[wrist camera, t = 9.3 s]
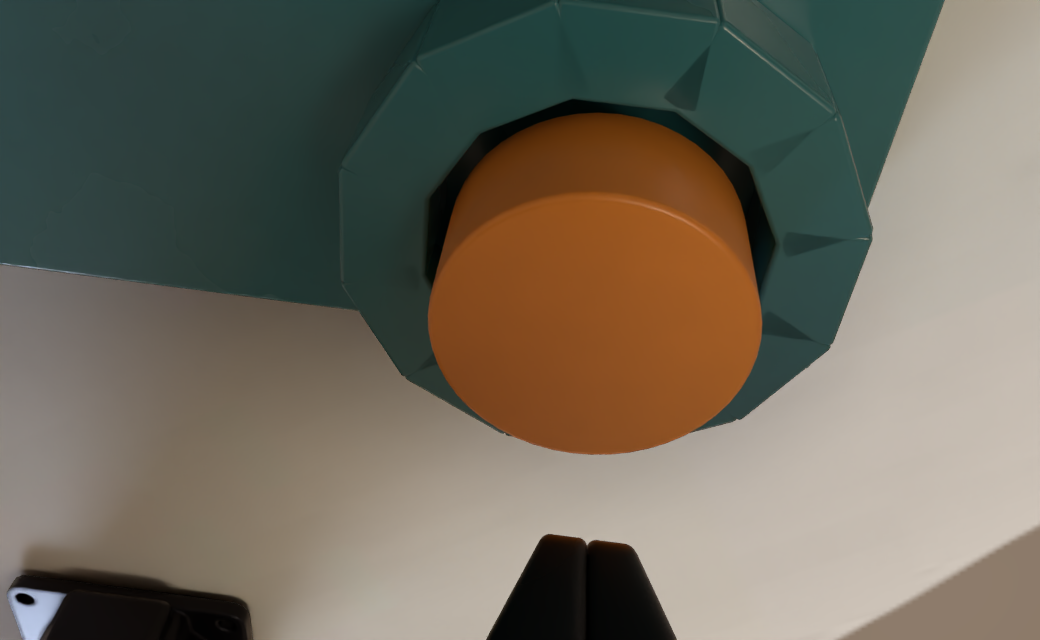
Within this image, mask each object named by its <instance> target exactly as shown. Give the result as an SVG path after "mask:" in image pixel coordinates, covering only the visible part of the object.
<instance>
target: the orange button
mask: <svg viewBox="0 0 1040 640" xmlns="http://www.w3.org/2000/svg"><path fill="white" fill-rule="evenodd" d="M428 331H429V336H430V341H431V347H432V350H433V352H434V355H435V358H436V360H437V363H438V366H439V368H440V369H441V371H442V373H443V375H444V377H445V379H446V380H447V382H448V383H449V385H450V386H451V387H452V389H453V390H454V391H455V393H456V394H457V395H458V396H459V397H460V398H461V400H462V401H463V402H464V403H465V404H466V405H467V406H468V407H469V408H470V409H472V410H473V411H474V412H475V413H476V414H478V415H479V416H480V417H481V418H483V419H484V420H485V421H487V422H489V423H490V424H492V425H493V426H495V427H496V428H498V429H500V430H502V431H504V432H506V433H508V434H509V435H511V436H513V437H515V438H518V439H521V440H523V441H526V442H528V443H531V444H534V445H537V446H541V447H545V448H548V449H552V450H557V451H563V452H569V453H578V454H590V455H593V454H618V453H628V452H634V451H639V450H644V449H649V448H652V447H655V446H658V445H662V444H665V443H668V442H670V441H673V440H675V439H677V438H680V437H682V436H685V435H686V434H688V433H690V432H692V431H694V430H695V429H697V428H699V427H701V426H702V425H703V424H705V423H706V422H708V421H709V420H710V419H712V418H713V417H715V416H716V415H717V414H718V413H719V412H720V411H721V410H722V409H723V408H725V407H726V406H727V405H728V404H729V403H730V402H731V400H732V399H733V398H734V397H735V395H736V394H737V393H738V392H739V391H740V389H741V388H742V386H743V384H744V383H745V381H746V379H747V378H748V376H749V374H750V372H751V370H752V368H753V365H754V363H755V360H756V358H757V355H758V351H759V347H760V342H761V335H762V314H761V305H760V299H759V293H758V288H757V282H756V277H755V271H754V266H753V260H752V254H751V249H750V243H749V238H748V232H747V227H746V221H745V216H744V213H743V209H742V206H741V202H740V200H739V198H738V195H737V193H736V191H735V189H734V187H733V185H732V183H731V182H730V180H729V179H728V177H727V176H726V174H725V173H724V171H723V170H722V169H721V168H720V167H719V165H718V164H717V163H716V162H715V161H714V160H713V159H712V158H711V156H709V155H708V154H707V153H706V152H705V151H703V150H702V149H701V148H700V147H699V146H698V145H696V144H695V143H693V142H692V141H690V140H689V139H687V138H685V137H684V136H682V135H681V134H679V133H677V132H675V131H673V130H671V129H669V128H667V127H664V126H662V125H660V124H657V123H654V122H651V121H648V120H645V119H642V118H638V117H633V116H627V115H622V114H613V113H580V114H573V115H567V116H561V117H556V118H553V119H550V120H546V121H543V122H540V123H537V124H535V125H532V126H530V127H528V128H526V129H523V130H521V131H519V132H517V133H515V134H514V135H512V136H511V137H509V138H507V139H506V140H504V141H502V142H501V143H500V144H498V145H497V146H496V147H495V148H494V149H492V150H491V151H490V152H489V153H487V154H486V155H485V156H484V158H483V159H482V160H481V161H480V162H479V163H478V164H477V165H476V166H475V167H474V169H473V170H472V171H471V173H470V174H469V176H468V177H467V179H466V180H465V182H464V184H463V186H462V188H461V190H460V192H459V194H458V196H457V198H456V201H455V205H454V208H453V211H452V215H451V218H450V222H449V226H448V230H447V234H446V238H445V241H444V245H443V249H442V253H441V257H440V261H439V264H438V268H437V272H436V276H435V280H434V283H433V287H432V291H431V295H430V301H429V308H428Z"/></svg>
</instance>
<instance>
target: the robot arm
mask: <svg viewBox="0 0 1040 640" xmlns="http://www.w3.org/2000/svg"><path fill="white" fill-rule="evenodd" d="M7 598H8V601H9V603H10V606H11V609H12V612H13V614H14V617H15V620H16V623H17V625H18V628H19V631H20V633H21V636H22V639H23V640H253V637H252V629H251V620H250V614H249V612H248V610H246V609H245V608H244V607H243V606H241V605H239V604H237V603H233V602H227V601H220V600H212V599H204V598H197V597H189V596H181V595H174V594H166V593H159V592H151V591H143V590H136V589H128V588H120V587H113V586H105V585H97V584H90V583H82V582H75V581H67V580H59V579H52V578H44V577H36V576H29V575H22V576H19V577H16V579H15V580H14V581H13V583H12V585H11V586H10V588H9V590H8V591H7ZM486 640H677V639H676V637H675V634H674V632H673V630H672V628H671V626H670V624H669V622H668V619H667V617H666V615H665V613H664V611H663V609H662V607H661V604H660V602H659V600H658V598H657V596H656V594H655V592H654V589H653V587H652V585H651V583H650V581H649V579H648V577H647V574H646V572H645V570H644V568H643V566H642V564H641V562H640V560H639V557H638V555H637V553H636V552H635V550H634V549H633V548H632V547H631V546H629V545H627V544H622V543H614V542H607V541H599V540H594V541H591V542H590V543H589V544H588V545H586V542H585V541H584V540H583V539H581V538H576V537H568V536H561V535H553V534H547V535H545V536H543V537H542V538H541V539H540V541H539V543H538V544H537V546H536V548H535V550H534V552H533V554H532V556H531V557H530V559H529V561H528V563H527V565H526V567H525V569H524V570H523V572H522V574H521V576H520V578H519V580H518V581H517V583H516V585H515V587H514V589H513V591H512V593H511V594H510V596H509V598H508V600H507V602H506V604H505V605H504V607H503V609H502V611H501V613H500V615H499V617H498V618H497V620H496V622H495V624H494V626H493V628H492V630H491V631H490V633H489V635H488V637H487V639H486Z"/></svg>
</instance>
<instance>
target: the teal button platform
mask: <svg viewBox="0 0 1040 640" xmlns="http://www.w3.org/2000/svg"><path fill="white" fill-rule="evenodd" d="M944 1H945V0H0V265H7V266H15V267H23V268H30V269H38V270H46V271H54V272H61V273H69V274H77V275H85V276H92V277H100V278H108V279H116V280H123V281H131V282H139V283H147V284H154V285H162V286H170V287H177V288H185V289H193V290H201V291H208V292H216V293H224V294H232V295H239V296H247V297H255V298H263V299H270V300H278V301H286V302H294V303H301V304H309V305H317V306H325V307H332V308H340V309H348V310H356V311H359V312H360V314H361V315H362V317H363V318H364V320H365V321H366V323H367V324H368V326H369V327H370V329H371V330H372V332H373V333H374V335H375V336H376V338H377V339H378V341H379V342H380V344H381V345H382V346H383V348H384V349H385V351H386V352H387V354H388V355H389V357H390V358H391V360H392V361H393V363H394V364H395V366H396V367H397V369H398V370H399V372H400V373H401V375H402V376H405V377H406V379H407V380H409V381H410V382H412V383H414V384H416V385H417V386H419V387H421V388H423V389H424V390H426V391H428V392H430V393H431V394H433V395H435V396H437V397H438V398H440V399H442V400H444V401H445V402H447V403H449V404H451V405H452V406H454V407H456V408H458V409H459V410H461V411H463V412H465V413H466V414H468V415H470V416H472V417H473V418H475V419H477V420H479V421H480V422H482V423H484V424H486V425H487V426H489V427H491V428H493V429H494V430H496V431H498V432H500V433H503V434H504V433H505V434H506V435H507V436H511V435H509V434H508V433H506V432H504V431H502V430H500V429H498V428H496V427H495V426H493V425H492V424H490V423H489V422H487V421H485V420H484V419H483V418H481V417H480V416H479V415H478V414H476V413H475V412H474V411H473V410H472V409H470V408H469V407H468V406H467V405H466V404H465V403H464V402H463V401H462V400H461V398H460V397H459V396H458V395H457V394H456V393H455V391H454V390H453V389H452V387H451V386H450V385H449V383H448V382H447V380H446V379H445V377H444V375H443V373H442V371H441V369H440V368H439V366H438V363H437V360H436V358H435V355H434V352H433V350H432V347H431V341H430V336H429V331H428V308H429V301H430V295H431V291H432V287H433V283H434V280H435V276H436V272H437V268H438V264H439V261H440V257H441V253H442V249H443V245H444V241H445V238H446V234H447V230H448V226H449V222H450V218H451V215H452V211H453V208H454V205H455V201H456V198H457V196H458V194H459V192H460V190H461V188H462V186H463V184H464V182H465V180H466V179H467V177H468V176H469V174H470V173H471V171H472V170H473V169H474V167H475V166H476V165H477V164H478V163H479V162H480V161H481V160H482V159H483V158H484V156H485V155H486V154H487V153H489V152H490V151H491V150H492V149H494V148H495V147H496V146H497V145H498V144H500V143H501V142H502V141H504V140H506V139H507V138H509V137H511V136H512V135H514V134H515V133H517V132H519V131H521V130H523V129H526V128H528V127H530V126H532V125H535V124H537V123H540V122H543V121H546V120H550V119H553V118H556V117H561V116H567V115H573V114H580V113H613V114H622V115H627V116H633V117H638V118H642V119H645V120H648V121H651V122H654V123H657V124H660V125H662V126H664V127H667V128H669V129H671V130H673V131H675V132H677V133H679V134H681V135H682V136H684V137H685V138H687V139H689V140H690V141H692V142H693V143H695V144H696V145H698V146H699V147H700V148H701V149H702V150H703V151H705V152H706V153H707V154H708V155H709V156H711V158H712V159H713V160H714V161H715V162H716V163H717V164H718V165H719V167H720V168H721V169H722V170H723V171H724V173H725V174H726V176H727V177H728V179H729V180H730V182H731V183H732V185H733V187H734V189H735V191H736V193H737V195H738V198H739V200H740V202H741V206H742V209H743V213H744V216H745V221H746V227H747V232H748V238H749V243H750V249H751V254H752V260H753V266H754V271H755V277H756V282H757V288H758V293H759V299H760V305H761V314H762V335H761V342H760V347H759V351H758V355H757V358H756V360H755V363H754V365H753V368H752V370H751V372H750V374H749V376H748V378H747V379H746V381H745V383H744V384H743V386H742V388H741V389H740V391H739V392H738V393H737V394H736V395H735V397H734V398H733V399H732V400H731V402H730V403H729V404H728V405H727V406H726V407H725V408H723V409H722V410H721V411H720V412H719V413H718V414H717V415H716V416H715V417H713V418H712V419H710V420H709V421H708V422H706V423H705V424H703V425H702V426H701V427H699V428H697V429H695V430H694V431H692V432H695V431H699V430H703V429H707V428H711V427H715V426H719V425H723V424H727V423H730V422H733V421H735V420H736V419H738V420H740V419H742V418H744V417H745V416H746V415H747V414H749V413H750V412H751V411H752V410H754V409H755V408H756V407H758V406H759V405H760V404H761V403H763V402H764V401H765V400H766V399H768V398H769V397H770V396H771V395H773V394H774V393H775V392H776V391H778V390H779V389H780V388H781V387H783V386H784V385H785V384H786V383H788V382H789V381H790V380H791V379H793V378H794V377H795V376H796V375H798V374H799V373H800V372H801V371H803V370H804V369H805V368H808V367H809V366H810V364H811V363H813V362H814V361H815V360H816V359H818V358H819V357H820V356H822V355H823V354H824V353H825V352H827V351H828V350H829V348H830V345H831V344H832V343H833V341H834V339H835V336H836V334H837V331H838V329H839V326H840V323H841V321H842V318H843V315H844V313H845V310H846V308H847V305H848V302H849V300H850V297H851V294H852V292H853V289H854V287H855V284H856V281H857V279H858V276H859V273H860V271H861V268H862V266H863V263H864V260H865V258H866V255H867V252H868V250H869V247H870V245H871V242H872V231H873V226H872V223H871V219H870V216H869V212H868V207H869V204H870V201H871V198H872V196H873V193H874V190H875V188H876V185H877V182H878V180H879V177H880V174H881V171H882V169H883V166H884V163H885V161H886V158H887V155H888V152H889V150H890V147H891V144H892V142H893V139H894V136H895V134H896V131H897V128H898V125H899V123H900V120H901V117H902V115H903V112H904V109H905V106H906V104H907V101H908V98H909V96H910V93H911V90H912V87H913V85H914V82H915V79H916V77H917V74H918V71H919V69H920V66H921V63H922V60H923V58H924V55H925V52H926V50H927V47H928V44H929V41H930V39H931V36H932V33H933V31H934V28H935V25H936V22H937V20H938V17H939V14H940V12H941V9H942V6H943V4H944ZM690 433H691V432H690Z"/></svg>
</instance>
